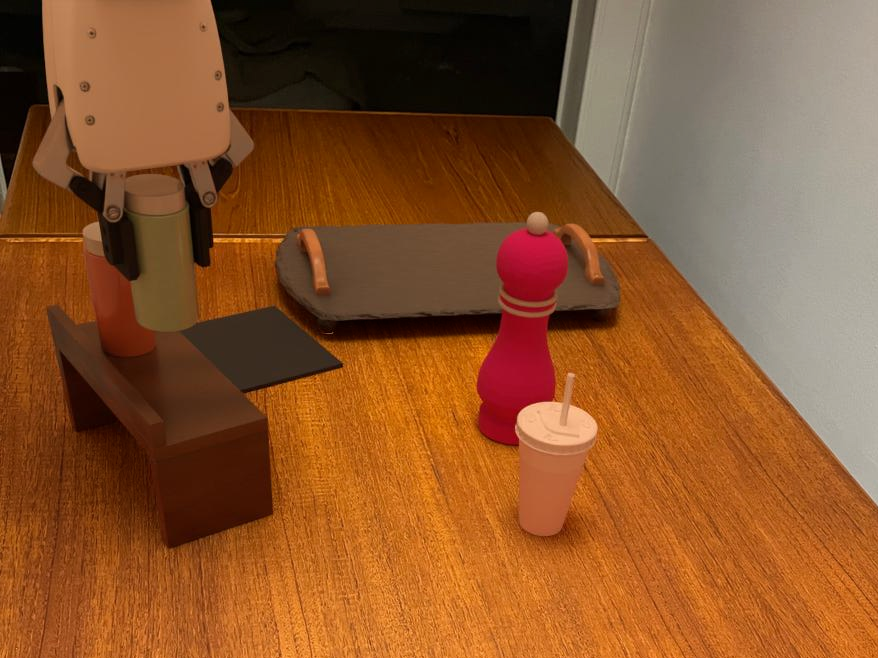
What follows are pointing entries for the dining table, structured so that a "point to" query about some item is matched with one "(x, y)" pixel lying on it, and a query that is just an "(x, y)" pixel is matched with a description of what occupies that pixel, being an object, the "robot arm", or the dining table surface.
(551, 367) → the pepper mill
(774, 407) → the dining table surface
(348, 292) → the serving tray
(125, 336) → the terracotta shaker
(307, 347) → the mat
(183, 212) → the green shaker
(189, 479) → the spice shelf
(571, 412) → the smoothie
